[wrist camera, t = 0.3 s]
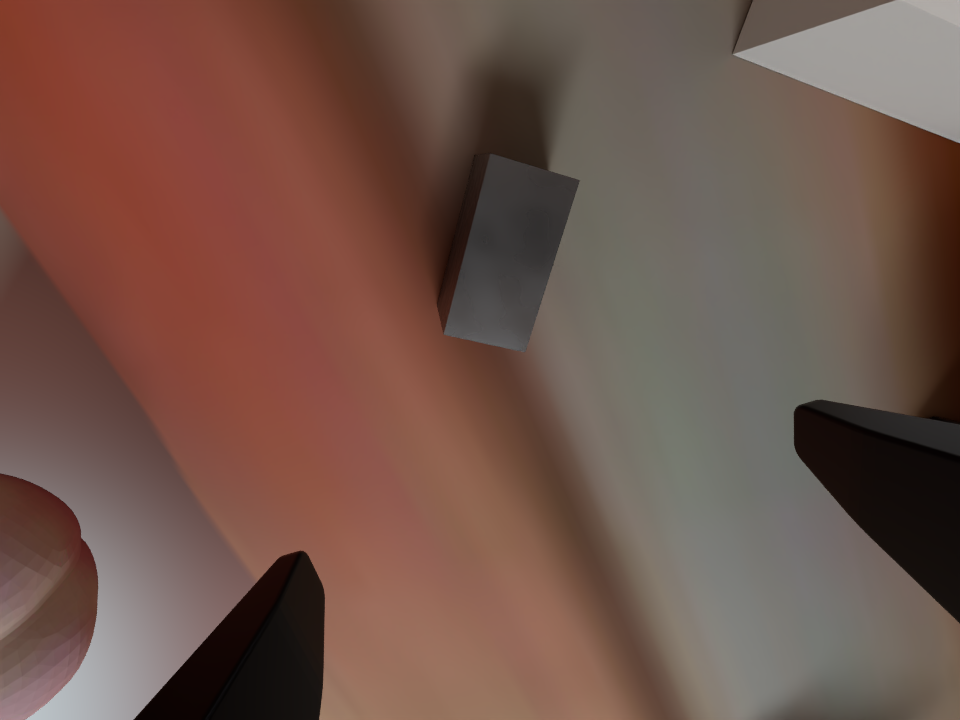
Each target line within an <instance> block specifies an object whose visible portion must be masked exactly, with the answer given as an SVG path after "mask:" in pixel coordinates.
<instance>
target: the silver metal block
mask: <svg viewBox="0 0 960 720" xmlns="http://www.w3.org/2000/svg"><path fill="white" fill-rule="evenodd" d="M579 181H580V180H577V179H574V178H570V177H567V176H564V175H560V174H557V173H554V172H551V171H547V170H544V169H541V168H537V167H534V166H531V165H528V164H524V163H521V162H518V161H514V160H511V159H508V158H504V157H501V156H498V155H495V154H491V153H489V154H479V155H474V159H473V163H472V167H471V171H470V175H469V179H468V183H467V187H466V191H465V195H464V199H463V203H462V207H461V211H460V215H459V219H458V223H457V227H456V231H455V235H454V239H453V243H452V247H451V251H450V255H449V259H448V263H447V267H446V271H445V275H444V279H443V283H442V287H441V291H440V295H439V299H438V303H437V308H438V312H439V316H440V321H441V325H442V330H443V334H444V335H448V336H453V337H457V338H462V339H466V340H471V341H476V342H480V343H485V344H489V345H494V346H499V347H503V348H508V349H512V350H517V351H522V352H525V351H526V348H527V345H528V342H529V339H530V335H531V332H532V329H533V326H534V323H535V320H536V317H537V313H538V310H539V307H540V304H541V301H542V298H543V294H544V291H545V288H546V285H547V282H548V279H549V276H550V272H551V269H552V266H553V263H554V260H555V257H556V253H557V250H558V247H559V244H560V241H561V238H562V235H563V231H564V228H565V225H566V222H567V219H568V216H569V212H570V209H571V206H572V203H573V200H574V197H575V194H576V190H577V187H578V184H579Z"/></svg>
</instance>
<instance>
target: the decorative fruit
mask: <svg viewBox="0 0 960 720" xmlns="http://www.w3.org/2000/svg"><path fill="white" fill-rule="evenodd" d="M97 597H98V576H97V569H96V564H95V561H94V558H93V555H92V553H91V550H90V549H89V547H88V545H87V544H86V542H85V541H83V539H82V538H81V529H80V525H79V523H78V520H77V518H76V516H75V515H74V513H73V511H72V510H71V509H70V508H69V507H68V506H67V505H66V504H65V503H64V502H63V501H61V500H60V499H59V498H58V497H56V496H55V495H53V494H52V493H50V492H48V491H47V490H45V489H43V488H41V487H40V486H37V485H35V484H33V483H31V482H28V481H26V480H23V479H19V478H17V477H13V476H9V475H4V474H0V720H25V719H27V718H28V717H30V716H31V715H33V714H34V713H35V712H36V711H37V710H39V709H40V708H41V707H43V706H44V705H45V704H46V703H48V702H49V701H50V700H51V699H52V698H53V697H54V696H55V695H56V694H57V693H58V692H59V691H60V690H61V689H62V688H63V687H64V686H65V685H66V684H67V683H68V682H69V681H70V680H71V678H72V677H73V675H74V674H75V673H76V671H77V670H78V669H79V667H80V665H81V663H82V661H83V659H84V657H85V655H86V653H87V651H88V648H89V646H90V643H91V639H92V636H93V632H94V627H95V622H96V616H97Z"/></svg>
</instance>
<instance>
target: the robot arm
mask: <svg viewBox="0 0 960 720" xmlns="http://www.w3.org/2000/svg"><path fill="white" fill-rule="evenodd" d="M794 446H795V450H796V452H797V454H798V456H799V457H800V459H801V460H802V461H803V462H804V463H805V465H806V466H807V467H808V468H809V469H810V470H811V472H812V473H813V474H814V475H815V476H816V477H817V479H818V480H819V481H820V482H821V483H822V484H823V486H824V487H825V488H826V489H827V490H828V491H829V492H830V494H831V495H832V496H833V497H834V498H835V499H836V501H837V502H838V503H839V504H840V505H841V506H842V508H843V509H844V510H845V511H846V512H847V513H848V515H849V516H850V517H851V518H852V519H853V520H854V521H855V522H856V523H857V524H858V525H859V526H860V527H861V528H862V529H863V530H864V531H865V533H866V534H867V535H868V536H869V537H870V538H872V539H873V540H874V541H875V542H876V543H877V544H878V545H879V546H880V547H881V548H882V549H883V550H884V551H885V552H886V553H887V554H888V555H889V556H890V557H891V558H892V559H893V560H894V561H895V562H896V563H898V564H899V565H900V566H901V567H902V568H903V569H904V570H905V571H906V572H907V573H908V574H909V575H910V576H911V577H912V578H913V579H914V580H915V581H916V582H917V583H918V584H919V585H920V586H921V587H922V588H924V589H925V590H926V591H927V592H928V593H929V594H930V595H931V596H932V597H933V598H934V599H935V600H936V601H937V602H938V603H939V604H940V605H941V606H942V607H943V608H944V609H945V610H946V611H947V612H948V613H950V614H951V615H952V616H953V617H954V618H955V619H956V620H957V621H958V622H959V623H960V422H958V421H954V420H949V419H945V418H941V417H931V418H929V419H926V418H921V417H915V416H909V415H904V414H898V413H893V412H887V411H882V410H876V409H870V408H865V407H859V406H854V405H848V404H843V403H837V402H831V401H826V400H815V401H811V402H808V403H805V404H801V405H799V406H797V407H796V409H795V411H794ZM324 615H325V594H324V588H323V585H322V583H321V581H320V579H319V577H318V574H317V572H316V570H315V568H314V566H313V564H312V562H311V560H310V558H309V556H308V555H307V553H306V552H304V551H297V552H294V553H290V554H287V555H284V556H281V557H279V558H278V559H277V560H276V561H275V563H274V564H273V565H272V566H271V567H270V568H269V569H268V570H267V572H266V573H265V574H264V575H263V576H262V577H261V578H260V579H259V580H258V582H257V583H256V584H255V585H254V586H253V587H252V588H251V590H250V591H249V592H248V593H247V594H246V595H245V596H244V597H243V598H242V599H241V601H240V602H239V603H238V604H237V605H236V606H235V607H234V608H233V609H232V611H231V612H230V613H229V614H228V615H227V616H226V617H225V618H224V620H223V621H222V622H221V623H220V624H219V625H218V626H217V627H216V628H215V630H214V631H213V632H212V633H211V634H210V635H209V636H208V638H207V639H206V640H205V641H204V642H203V643H202V644H201V645H200V647H198V649H197V650H196V651H195V652H194V653H193V654H192V655H191V656H190V658H189V659H188V660H187V661H186V662H185V663H184V664H183V665H182V666H181V667H180V669H179V670H178V671H177V672H176V673H175V674H174V675H173V676H172V677H171V679H170V680H169V681H168V682H167V683H166V684H165V685H164V686H163V688H162V689H161V690H160V691H159V692H158V693H157V694H156V695H155V696H154V698H153V699H152V700H151V701H150V702H149V703H148V704H147V705H146V706H145V708H144V709H143V710H142V711H141V712H140V713H139V714H138V715H137V716H136V718H135V719H134V720H319V716H320V708H321V699H322V689H323V669H324Z"/></svg>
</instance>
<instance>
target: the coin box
mask: <svg viewBox="0 0 960 720" xmlns="http://www.w3.org/2000/svg"><path fill="white" fill-rule="evenodd" d="M732 55H735V56H738V57H740V58H743V59H745V60H748V61H750V62H753V63H756V64H758V65H761V66H763V67H766V68H768V69H771V70H773V71H776V72H779V73H781V74H784V75H786V76H789V77H791V78H794V79H797V80H799V81H802V82H804V83H807V84H809V85H812V86H814V87H817V88H820V89H822V90H825V91H827V92H830V93H832V94H835V95H838V96H840V97H843V98H845V99H848V100H850V101H853V102H855V103H858V104H861V105H863V106H866V107H868V108H871V109H873V110H876V111H879V112H881V113H884V114H886V115H889V116H891V117H894V118H896V119H899V120H902V121H904V122H907V123H909V124H912V125H914V126H917V127H920V128H922V129H925V130H927V131H930V132H932V133H935V134H938V135H940V136H943V137H945V138H948V139H950V140H953V141H955V142H958V143H960V0H753V1H752V4H751V7H750V9H749V12H748V15H747V17H746V20H745V23H744V25H743V28H742V30H741V33H740V36H739V38H738V41H737V44H736V46H735V49H734V52H733V54H732Z"/></svg>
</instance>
